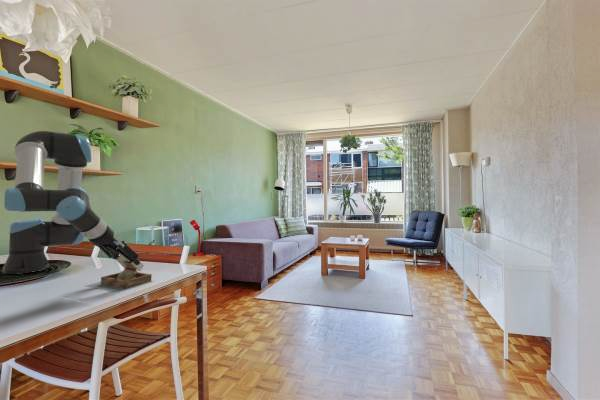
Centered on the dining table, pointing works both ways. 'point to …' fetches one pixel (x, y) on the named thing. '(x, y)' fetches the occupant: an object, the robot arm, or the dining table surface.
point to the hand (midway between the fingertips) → (134, 267)
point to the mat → (111, 287)
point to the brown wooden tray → (113, 281)
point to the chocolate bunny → (127, 271)
